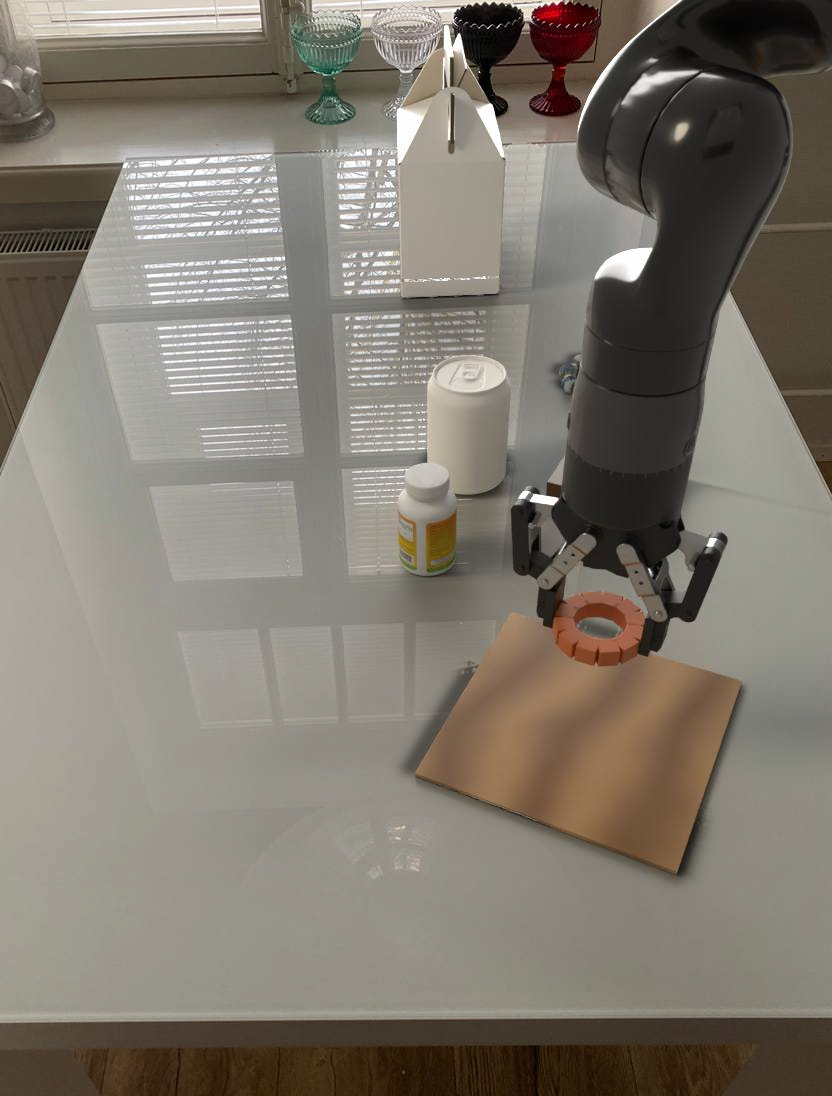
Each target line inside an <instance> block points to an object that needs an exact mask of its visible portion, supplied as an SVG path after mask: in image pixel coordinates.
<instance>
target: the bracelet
mask: <svg viewBox="0 0 832 1096" xmlns="http://www.w3.org/2000/svg"><path fill="white" fill-rule="evenodd" d="M580 362H581V354H578V355H575V356H574V357H573V358H572V361H571V363H565V364H563V365H561V367H560V368H559V372H558V376H559V379H560V380H561V389H562V391H563V392H564V391H565V392H564V393H566V392H567V393H566V394H573V391H574V387H575V383H576V379H577V376H576V375H577V371H579V367H580Z"/></svg>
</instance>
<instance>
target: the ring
mask: <svg viewBox="0 0 832 1096" xmlns="http://www.w3.org/2000/svg"><path fill="white" fill-rule="evenodd" d="M624 598H625V597H624V596H623V595H620V594H616V593H613V592H609V591H605V590H604V591H603V593H602V592H601V590H595V591H594V590H593V591H582V592H581V593H578V592H577V593H575V594H573V595H571V596H568V597H567V598H565V599H563V603H561V604H560V606H559V608H558V609H557V611H556V613H555V616H554V619H553V627H552V632H553V636H554V640H555V644H558V648H559V649H560V650H562V651H563V652H564V653H565V654H566V655H567V656H569V657H570V658H572V657H574V656H575V658H574V660H575V661H578V662H581V663H585V664H588V665H591V666H594V665H595V663H596V662H597V665H598V667H601V666H617V665H618V663H621V664H624V663H626V662H627V661H629V660H631V659H633V658H635V657H636V656H637V654H638V651H639V646H640V641H641V637H642V632H643V627H644V622H645V618H646V616H645V613H644V611H641V608H640V607H639V606H638V605H636V604H635V603H634V602H633V601H632V600H631V599H629V598H625V599H624ZM590 618H591V619H592V618H600V619H605V620H608V621H611V622H613V623H614V624H616V625H617V626H618V627H619V628H621V630H622V633H620V634H619V635H616V636H615V637H613V638H612V637H611V638H600V639H597V638H598V637H596V638H594V637H595V636H593V637H590V636H591V635H589V636H587V635H588V634H586V635H585V633H584V632H582V631H581V630H580V629H579V628H577V625H576V624H578V623H579V622H581V621H583V620H585V619H590Z"/></svg>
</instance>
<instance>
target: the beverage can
mask: <svg viewBox="0 0 832 1096" xmlns="http://www.w3.org/2000/svg"><path fill="white" fill-rule="evenodd" d="M507 374H508V373H507V369H506V367H505V366H504V365H503V364H502V363H501V362H499V361H498V360H496V359H493V358H490V357H488V356H483V355H474V354H464V355H456V356H451V357H450V358H449V357H448V358H447V359H444V360H442V361H440V362H439V363H437V365H435V367H434V368H433V370H432V373H431V376H430V378H429V379H428V381H427V385H426V386H427V388H426V398H427V399H426V400H427V401H426V408H427V409H426V412H427V414H426V417H427V418H426V422H427V423H426V425H427V426H426V428H427V429H426V431H427V432H426V433H427V434H426V436H427V438H426V439H427V441H426V442H427V446H426V448H427V450H426V451H427V453H426V454H427V455H426V456H427V459H426V460H427V462H426V463H435V464H438V465H441V466H443V467H445V468H446V469H447V470H448V472H449V476H450V486H449V488H450V489H451V490H452V491H453V492H454V494H455V495H465V496H466V495H467V496H469V495H478V494H482V493H485V492H489V491H490V490H493V489H495V488H496V487H498V486H499V485H500V484H501V483H502V482H503V480H504V479H505V477H506V474H507V473H506V472H507V457H508V456H507V455H508V441H509V440H508V439H509V426H510V425H509V423H510V410H511V409H510V408H511V393H512V392H511V391H512V384H511V381H510V378H509V377H508V375H507Z"/></svg>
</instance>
